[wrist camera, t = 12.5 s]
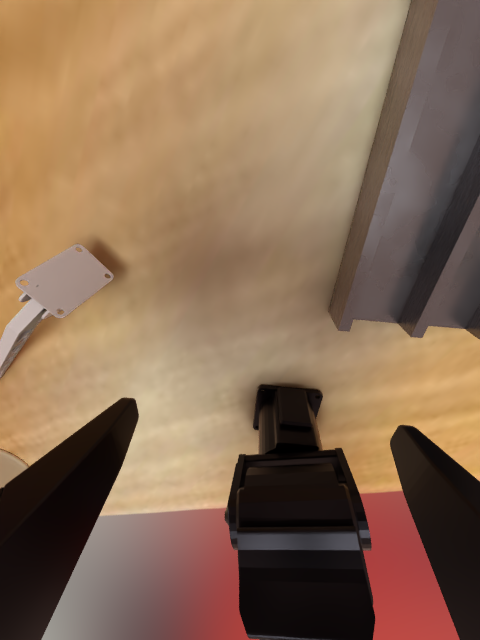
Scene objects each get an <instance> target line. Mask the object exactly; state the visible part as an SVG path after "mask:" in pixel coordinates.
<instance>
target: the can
mask: <svg viewBox="0 0 480 640" xmlns="http://www.w3.org/2000/svg"><path fill="white" fill-rule="evenodd" d="M28 467H29V466H28V465H27V464H26V463H25V462H24V461H22V460H21V459H20V458H18V457H17V456H15V455H13V454H11V453H9V452H7V451H4V450H1V449H0V488H1V487H4V486H5V484H7V483H8V482H9V481H11V480H12V479H13V478H15V477H16V476H17V475H19V474H20V473H21V472H23V471H24V470H25V469H27V468H28Z"/></svg>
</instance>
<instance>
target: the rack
mask: <svg viewBox="0 0 480 640" xmlns="http://www.w3.org/2000/svg"><path fill="white" fill-rule="evenodd" d="M328 312H329V314H330V316H331V318H332V319H333V321H334V323H335V325H336V327H337V329H338V331H350V328H351V325H352V322H353V319H356V320H368V321H379V322H391V323H398V324H399V325H400V326H401V327H402V328H403V329H404V330H405V331H406V332H407V333H408V334H409V335H410V336H411V337H418V338H422V337H423V335H424V333H425V331H426V329H427V327H428V326H438V327H450V328H461V329H466V330H467V331H469V332H470V333H471V334H473V335H474V336H475V337H477V338H478V339H480V0H412V1H411V5H410V8H409V12H408V16H407V20H406V23H405V27H404V31H403V34H402V38H401V42H400V46H399V49H398V53H397V57H396V61H395V64H394V68H393V72H392V76H391V79H390V83H389V87H388V91H387V94H386V98H385V102H384V106H383V109H382V113H381V117H380V121H379V124H378V128H377V132H376V136H375V139H374V143H373V147H372V150H371V154H370V158H369V162H368V165H367V169H366V173H365V177H364V180H363V184H362V188H361V192H360V195H359V199H358V203H357V207H356V210H355V214H354V218H353V222H352V225H351V229H350V233H349V237H348V240H347V244H346V248H345V252H344V255H343V259H342V263H341V267H340V270H339V274H338V278H337V281H336V285H335V289H334V293H333V296H332V300H331V304H330V308H329V311H328Z"/></svg>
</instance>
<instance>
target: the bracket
mask: <svg viewBox="0 0 480 640" xmlns="http://www.w3.org/2000/svg"><path fill="white" fill-rule="evenodd" d="M76 248H81V249H82V252H78V251H76ZM105 274H108V275H109V276H110V278H109V279H107V278H105ZM112 279H113V274H112V273H111V272H110V271H109V270H108V269H107V268H106V267H105V266H104V265H103V264H102V263H100V262H99V261H98V260H97V259H96V258H95V257H94V256H93V255H92V254H91V253H89V251H88V250H87V249H86V248H85V247H83V246H82V245H80V244H75V245H73V246H71V247H70V248H68V249H66V250H65V251H63V252H61V253H59V254H58V255H56V256H54V257H53V258H51V259H49V260H47V261H46V262H44V263H42V264H41V265H39V266H37V267H35V268H34V269H32V270H30V271H29V272H27V273H25V274H23V275H22V276H20V277H18V278H17V279H16V281H15V283H16V286H17V287H18V288H20V289H21V290H22V291H23V292H24V293H23V294H22V295H21V296H20V297H19V301H21V302H25V301H28V300H30V299H31V300H30V301H29V302H28V303H27V304H26V305H25V306H24V307H23V308H22V309H21V310H20V311H19V313H18V314H17V315H16V316H15V317H14V318H13V319H12V320H11V321H10V322H9V323H8V324H7V326H6V328H5V330H4V333H3V335H2V338H1V340H0V378H1V377H2V376H3V374H4V373H5V371H6V370H7V368H8V367H9V366H10V364H11V363H12V361H13V360H14V358H15V357H16V355H17V354H18V352H19V351H20V350H21V348H22V347H23V345H24V344H25V342H26V341H27V339H28V338H29V336H30V335H31V334H32V332H33V331H34V329H35V328H36V326H37V325H38V324H39V323H40V322H41V321H42V320H43V319H46V318H48V317H50V316H52V315H54V316H55V317H57V318H64V317H66V316H67V315H68V314H69V313H71V312H72V311H73V310H75V309H76V308H77V307H78V306H80V305H81V304H82V303H83V302H85V301H86V300H87V299H89V298H90V297H91V296H92V295H94V294H95V293H96V292H98V291H99V290H100V289H101V288H103V287H104V286H105V285H106V284H108V283H109V282H110V281H112ZM22 280H26V281H28V283H29V284H28V285H27V286H23V285H21V284H20V281H22ZM61 310H63V311H64V314H62V315H59V314H57V313H58V312H59V311H61Z"/></svg>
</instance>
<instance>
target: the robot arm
mask: <svg viewBox="0 0 480 640" xmlns="http://www.w3.org/2000/svg"><path fill="white" fill-rule="evenodd" d="M262 390H264V391H262ZM316 395H318V396H316ZM322 398H323V395H322V393H321V391H318V390H308V389H298V388H287V387H277V386H267V385H261V386H259V387H258V391H257V398H256V406H255V414H254V422H253V428H254V429H255V430H259V454H256V455H246V454H239V458H238V462H237V463H236V467H235V472H234V477H233V481H232V486H231V491H230V495H229V500H228V506H227V508H226V511H225V521H226V523H227V524H228V525H229V530H230V539H231V543H232V547H233V549H234V550H238V564H239V610H240V615H241V617H242V621H243V624H244V627H245V630H246V633H247V635H248V637H249V638H251V639H260V640H373V632H374V624H375V614H374V610H373V596H372V592H371V587H370V582H369V577H368V573H367V568H366V563H365V559H364V554H363V550H371V538H370V533H369V527H368V523H367V519H366V515H365V511H364V507H363V504H362V500H361V497H360V494H359V492H358V489H357V486H356V484H355V481H354V478H353V476H352V473H351V471H350V468H349V466H348V463H347V460H346V458H345V455H344V453H343V450H342V448H335V450H323V449H322V445H321V440H320V436H319V432H318V427H317V423H316V417H317V414H318V411H319V407H320V404H321V401H322ZM138 417H139V414H138V409H137V404H136V400H135V399H134V398H121V399H120V400H118V401H117V402H116V403H114V404H113V405H112V406H110V407H109V408H108V409H106V410H105V411H103V412H102V413H101V414H99V415H98V416H97V417H95V418H94V419H93V420H91V421H90V422H89V423H87V424H86V425H85V426H83V427H82V428H81V429H79V430H78V431H77V432H75V433H74V434H73V435H71V436H70V437H69V438H67V439H66V440H64V441H63V442H62V443H60V444H59V445H58V446H56V447H55V448H54V449H52V450H51V451H50V452H48V453H47V454H46V455H44V456H43V457H42V458H40V459H39V460H38V461H36V462H35V463H34V464H32V465H31V466H30V467H28V468H27V469H25V470H24V471H23V472H21V473H20V474H19V475H17V476H16V477H15V478H13V479H12V480H11V481H9V482H8V483H7V484H5V486H4V487H1V488H0V640H41V639H42V637H43V635H44V632H45V630H46V628H47V626H48V624H49V622H50V620H51V617H52V615H53V613H54V611H55V609H56V607H57V605H58V602H59V600H60V598H61V596H62V594H63V592H64V590H65V587H66V585H67V583H68V581H69V579H70V577H71V574H72V572H73V570H74V568H75V566H76V564H77V561H78V559H79V557H80V555H81V553H82V551H83V549H84V546H85V544H86V542H87V540H88V538H89V536H90V534H91V532H92V529H93V527H94V525H95V523H96V520H97V519H98V517H99V514H100V512H101V510H102V508H103V506H104V504H105V501H106V499H107V497H108V495H109V493H110V491H111V489H112V486H113V484H114V482H115V480H116V478H117V476H118V474H119V471H120V469H121V467H122V464H123V462H124V459H125V456H126V453H127V450H128V448H129V445H130V442H131V439H132V436H133V433H134V430H135V428H136V425H137V422H138ZM390 447H391V450H392V454H393V458H394V461H395V465H396V468H397V472H398V475H399V479H400V482H401V486H402V489H403V492H404V495H405V498H406V501H407V504H408V506H409V509H410V512H411V514H412V517H413V519H414V522H415V525H416V527H417V530H418V532H419V535H420V538H421V540H422V543H423V545H424V548H425V551H426V553H427V556H428V558H429V561H430V563H431V566H432V569H433V571H434V574H435V576H436V579H437V582H438V584H439V587H440V589H441V592H442V594H443V597H444V600H445V602H446V605H447V607H448V610H449V612H450V615H451V618H452V620H453V623H454V626H455V628H456V631H457V633H458V636H459V638H460V640H480V481H478V480H477V479H476V478H475V477H474V476H472V475H471V474H470V473H469V472H468V471H467V470H465V469H464V468H463V467H462V466H461V465H459V464H458V463H457V462H456V461H455V460H453V459H452V458H451V457H450V456H449V455H448V454H446V453H445V452H444V451H443V450H442V449H440V448H439V447H438V446H437V445H436V444H434V443H433V442H432V441H431V440H430V439H429V438H427V437H426V436H425V435H424V434H423V433H421V432H420V431H419V430H418V429H417V428H415V427H413V426H409V425H400V426H398V428H397V429H396V431H395V433H394V434H393V436H392V438H391V441H390Z"/></svg>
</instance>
